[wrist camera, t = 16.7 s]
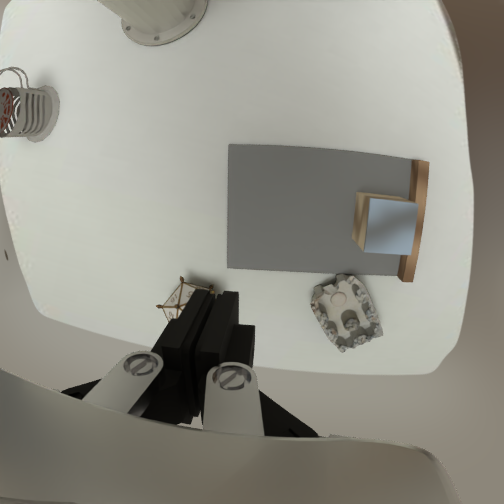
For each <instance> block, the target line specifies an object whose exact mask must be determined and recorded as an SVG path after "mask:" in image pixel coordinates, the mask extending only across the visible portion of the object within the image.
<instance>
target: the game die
mask: <svg viewBox="0 0 504 504" xmlns="http://www.w3.org/2000/svg"><path fill="white" fill-rule="evenodd" d="M180 280H181V282H182V283H181V284H180V286H179V287H178V288H177V289H176V290H175V292H174V293H173V294H172V295H171V296H170V298H169V299H168V300H167V301H166V302H165V304H164V305H163V306H162V305H157V306H156V307H158V309H159V308H162V309H163V311H164V313H165V315H166V318H167V320H168V322H169V321H170V320H171V319H172V318H176V319H177V318H178V317H179V315H180V313H181V312H182V310H183V309H184V307H185V305H186V304H187V302H188V300H189V299H190V297H191V295H192V294H193V292H194V290H195V289H204V290H210V293H211V294H214V293H215V292H214V291H211V289H212V288H213V285H210V287H209V288H205V287H201V286H197V285H194V284H190V283H186V282H184V278H183V277H182V276H180ZM215 301H216V299H215Z"/></svg>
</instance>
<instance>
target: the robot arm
mask: <svg viewBox="0 0 504 504" xmlns="http://www.w3.org/2000/svg"><path fill="white" fill-rule="evenodd" d="M97 1H99V2H100V3H102V4H103V5H104V6H106V7H107V8H108V9H110V10H111V11H113V12H114V13H115V14H117V15H118V16H119V17H121V18H122V20H121V23H122V29H123V31H124V33H125V34H126V35H127V37H128V38H130V39H131V40H132V41H134V42H136V43H138V44H142V45H148V46H155V45H162V44H165V43H169V42H171V41H174V40H176V39H178V38H180V37H182V36H183V35H185V34H186V33H188V32H189V31H190V30H191V29H193V28H194V26H195V25H196V24H197V23H198V22H199V21H200V19H201V18H202V17H203V15H204V12H205V10H206V7H207V0H97ZM194 18H195V19H194ZM254 345H255V325H242V324H239V293H238V292H232V291H224V292H223V294H218V296H217V298H216V301H215V294H211V293H210V290H204V289H195V290H194V292H193V294H192V295H191V297H190V299H189V300H188V302H187V304H186V305H185V307H184V309H183V310H182V312H181V313H180V315H179V317H178V318H177V319H176V318H172V319H171V320H170V321H169V323H168V324H167V326H166V328H165V329H164V331H163V332H162V334H161V336H160V337H159V339H158V340H157V342H156V344H155V345H154V347H153V348H152V350H151V352H149V351H137V352H133V353H130V354H128V355H126V356H125V357H123V358H122V359H121V360H120V361H119V362H118V364H116V365H115V366H114V367H113V368H112V369H111V370H110V371H109V372H108V373H107V374H106V376H105V377H104V378H102V379H99V380H96V381H92V382H89V383H86V384H82V385H79V386H75V387H72V388H68V389H66V390H63V391H62V392H60V391H59V390H56V389H50V388H47V387H45V386H42V385H40V384H37V383H35V382H32V381H30V380H28V379H25V378H23V377H21V376H18V375H16V374H13V373H11V372H9V371H6V370H4V369H2V368H0V504H462V503H461V500H460V498H459V495H458V492H457V490H456V488H455V485H454V483H453V481H452V479H451V477H450V476H449V474H448V472H447V470H446V469H445V467H444V466H443V464H442V463H441V462H440V461H439V460H438V459H437V458H436V457H435V456H434V455H433V454H432V453H430V452H428V451H427V450H425V449H422V448H419V447H417V446H413V445H409V444H405V443H400V442H395V441H389V440H379V439H366V438H356V437H347V436H339V435H332V434H330V435H329V437H322V436H318V434H317V433H316V432H315V431H314V430H313V429H312V428H310V427H309V426H307V425H306V424H305V423H303V422H301V421H300V420H299V419H297V418H296V417H295V416H293V415H292V414H290V413H289V412H288V411H286V410H285V409H284V408H282V407H281V406H280V405H278V404H277V403H276V402H274V401H273V400H272V399H270V398H269V397H267V396H266V395H265V394H264V393H262V392H261V391H260V390H259V389H258V381H257V376H256V373H255V371H254V370H253V369H252V367H253V358H254ZM200 412H201V419H202V425H203V429H197V428H191V427H184V426H179V425H177V424H180V423H185V424H191V422H192V419H193V416H194V417H198V415H199V413H200Z"/></svg>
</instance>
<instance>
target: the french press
mask: <svg viewBox="0 0 504 504" xmlns="http://www.w3.org/2000/svg"><path fill="white" fill-rule="evenodd" d="M13 69H16V70H20V71H21V72H22V73H23V74H24V75H25V77H26V82H27V88H28V89H25V88H23V87H22V79H21V77H20V75H19V74H18V73H17V72H16V71H15V70H13ZM6 70H10V71H13V72H15V73H16V74H17V75H18V76H19V78H20V83H21V88H17V87H16V88H11V87H9V88H2V89H0V137H1V138H3V137H27V138H28V140H30V141H32V142H39V141H43V140H44V139H45V138H46V137H47V136H48V135H49V134H50V133H51V131H52V130H53V128H54V126H55V124H56V121H57V118H58V115H59V105H60V101H59V97H58V93H57V92H56V91H55V89H54V88H53V87H50V86H43V87H40V88H38V89H35V88H29V86H28V78H27V76H26V74H25V72H24V71H23V70H22V69H20V68H17V67H9V68H6V69H2V70H0V72H1V71H2V72H1V73H0V75H1V74H2V73H3V72H4V71H6ZM31 89H32V90H31ZM13 96H15V97H14V98H13ZM17 97H20V98H19V99H18V100H17V101H16V102H15V104H14V105H13V101H14V100H15V99H16V98H17ZM19 101H20V102H21V103H20V104H19V106H18V107H17V118H18V119H17V122H16V119H15V115H14V112H15V107H16V105H17V104H18V102H19ZM11 114H12V118H13V121H14V124H15V126H14V127H13V124H12V122H11V119H10V118H11ZM8 123H9V124H10V127H11V129H12V131H11V132H10V130H9V128H8ZM5 129H6V130H7V133H5V132H4V130H5ZM21 131H23V132H22V133H21Z"/></svg>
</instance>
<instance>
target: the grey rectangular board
mask: <svg viewBox="0 0 504 504" xmlns="http://www.w3.org/2000/svg"><path fill="white" fill-rule="evenodd" d="M411 162H412V160H411V159H405V158H399V157H392V156H385V155H378V154H370V153H362V152H354V151H345V150H334V149H323V148H311V147H295V146H276V145H234V144H229V154H228V226H227V268H234V269H251V270H270V271H290V272H311V273H333V274H341V273H342V274H358V275H385V276H397V273H398V268H399V263H400V257H401V255H399V254H383V253H368V252H363V250H362V249H361V248H360V247H359V246H358V245H357V244H356V242H355V241H354V240H353V239H352V232H353V223H354V213H355V203H356V192H363V193H373V194H381V195H390V196H398V197H401V198H404V199H407V200H408V199H409V189H410V177H411Z"/></svg>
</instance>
